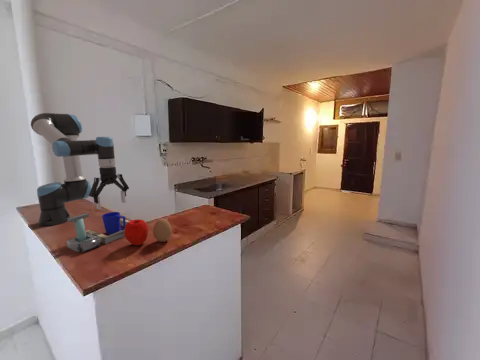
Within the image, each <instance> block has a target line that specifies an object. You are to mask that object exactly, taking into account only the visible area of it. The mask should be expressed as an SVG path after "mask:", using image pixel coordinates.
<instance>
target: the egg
mask: <svg viewBox="0 0 480 360" xmlns="http://www.w3.org/2000/svg"><path fill="white" fill-rule="evenodd" d="M172 230H173V229H172V226H171V224H170V222H169V220H167V219H166V218H164V217H163V218H159V219H158V220H156V221H155V223H154V224H153V230H152V234H153V237H154V238H155V239H156V241H158V242H161V243H163V242H167V241H169V239H170V238H171V236H172V232H173V231H172Z"/></svg>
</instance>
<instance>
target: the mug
mask: <svg viewBox="0 0 480 360" xmlns="http://www.w3.org/2000/svg"><path fill="white" fill-rule="evenodd" d="M101 218H102V222H103V226H104V231H105V233H106V234H107V235H111V234H114V233H117V232H119V231H122V230H125V224H126V221H125V220H126V216H124V215H121V213H120V212H119V211H112V212H107V213H104V214H102V216H101ZM120 219H123V226H122V228H121V225H120Z"/></svg>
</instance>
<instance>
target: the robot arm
mask: <svg viewBox="0 0 480 360" xmlns="http://www.w3.org/2000/svg"><path fill="white" fill-rule="evenodd" d="M30 126H31V127H30V128H31V130H32V131H34V133H35V134H36V135H39V136H42V137H43V138H44V139H45V140H46V141H47V142H48V143H49V144H51V146H52V148H51V149H52V152H53V154H54V156H55V157H61V158H62V160H63V161H62V162H63V165H64V172H65V179H64V180H63V183H61V182H60V181H57V182H50V183H46V184H43V185H41V186H38V188H37V189H36V193H37V194H36V195H37V199H38V203H39V209H40V213H39V219H38V224H39V226H41V227H48V226H55V225H60V224H64V223H66V222H68V221H67V219H68V218H71V214H70V213H69V212H68V210H67V208H66V204H65V203H71V202H74V201H79V200H84V199H87V198H89V197H91V198H93V204H95V205H96V210H99V211H100V210H102V205H101V198H100V194H101V192H102V191H103V190H104V187H106V186H109V185H113V184H114V185H116V186H117V187H118V188H119V189H120V198H121V199H120V200H121V203H123V204H126V203H127V201H126V197H127V191H128V190H129V189H130V187H129V186H128V184H127V183H126V181H125V179H124V177H123V174H122V173H118V174H117V167H116V159H115V157H116V156H115V147H114V141H113V138H112V136H97V137H96V138H95V139H88V140H78V138H79V137H80V134H81V133H82V132H83V126H82V123H81V121H80V119H79V118H78V116H76V115H75V114H70V113H55V112H54V113H52V112H51V113H50V112H42V113H39V114H37V115H35V116H34V117H33V118H32V119H31V121H30ZM91 155H93V156H94V155H97V161H98V166H99V168H98V170H99V175H100V176H99V177H94V178H93V184H92V185H91V181H89V180H88V179H87V177H85V176H83V170H82V164H81V157H80V156H91ZM117 179H118V180H119V181H118V180H117ZM100 181H101V182H100ZM99 182H100V183H99Z"/></svg>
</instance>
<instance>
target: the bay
mask: <svg viewBox="0 0 480 360" xmlns="http://www.w3.org/2000/svg"><path fill="white" fill-rule="evenodd" d="M125 221H126V224H127V223H128V222H129V221H130V220H128V219H125ZM126 224H125V226H126ZM120 226H122V227H123V218H120ZM124 231H125V229H124V230H120V231H119V232H117V233H114V234H108V235H106V234H103V233H100V232H97V231H94V230H91V229H88V230H85V232H86V234H87V233H88V234H91V235H94V236H96V237H98V238H99V239H100V242H101V244H105V245H106V244H110V243H113V242H115V241H118V240H120V239H122V238H124V237H125V235H124ZM125 238H126V237H125Z"/></svg>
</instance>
